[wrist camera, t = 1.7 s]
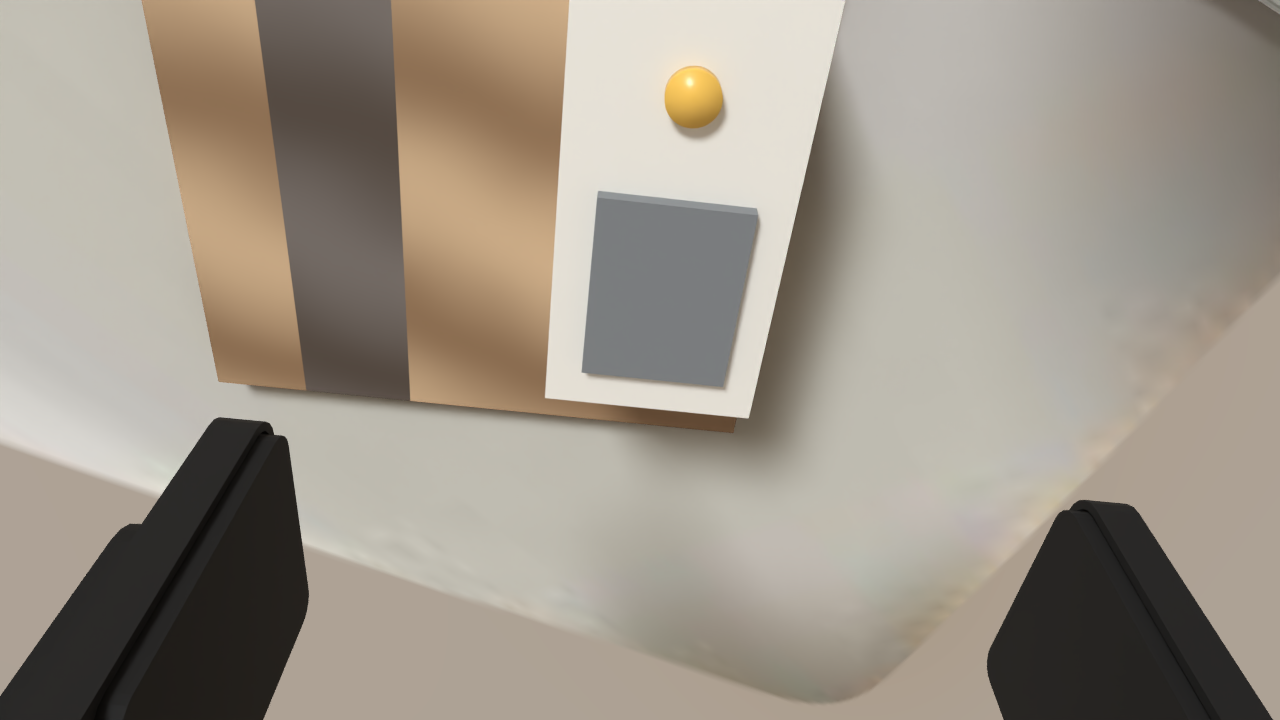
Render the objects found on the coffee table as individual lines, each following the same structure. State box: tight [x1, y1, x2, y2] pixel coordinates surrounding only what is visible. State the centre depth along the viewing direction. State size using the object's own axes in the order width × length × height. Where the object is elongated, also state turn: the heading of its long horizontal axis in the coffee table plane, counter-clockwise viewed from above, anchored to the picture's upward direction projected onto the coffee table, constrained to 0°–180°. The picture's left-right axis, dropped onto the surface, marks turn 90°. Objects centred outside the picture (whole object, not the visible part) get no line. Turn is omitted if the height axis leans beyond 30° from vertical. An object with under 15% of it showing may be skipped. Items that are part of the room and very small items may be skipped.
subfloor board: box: [142, 0, 737, 433], centre depth 21 cm, size 18×15×1 cm
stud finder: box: [545, 0, 845, 418], centre depth 19 cm, size 9×4×5 cm, turn 174°
